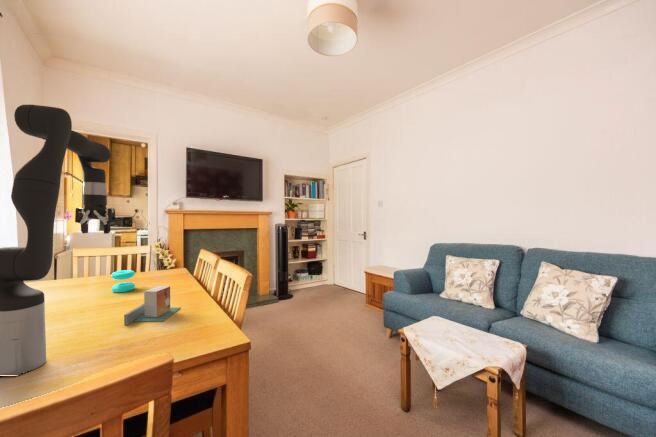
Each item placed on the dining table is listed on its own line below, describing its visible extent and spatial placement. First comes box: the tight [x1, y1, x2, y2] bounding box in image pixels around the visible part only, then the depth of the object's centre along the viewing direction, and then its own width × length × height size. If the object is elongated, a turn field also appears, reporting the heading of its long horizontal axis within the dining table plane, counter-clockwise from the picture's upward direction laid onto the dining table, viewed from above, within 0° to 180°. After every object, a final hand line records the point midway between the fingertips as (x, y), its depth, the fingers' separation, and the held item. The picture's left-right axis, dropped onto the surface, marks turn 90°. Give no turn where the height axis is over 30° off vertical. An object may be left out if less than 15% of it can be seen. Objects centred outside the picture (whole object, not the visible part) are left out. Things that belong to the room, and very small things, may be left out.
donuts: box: [111, 269, 136, 294], centre depth 147 cm, size 10×10×10 cm
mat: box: [133, 307, 181, 323], centre depth 114 cm, size 14×11×1 cm
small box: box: [143, 285, 171, 318], centre depth 114 cm, size 8×6×10 cm
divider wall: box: [123, 303, 144, 326], centre depth 114 cm, size 20×1×4 cm, turn 3°
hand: (96, 233), depth 114 cm, fingers open, 8 cm apart
